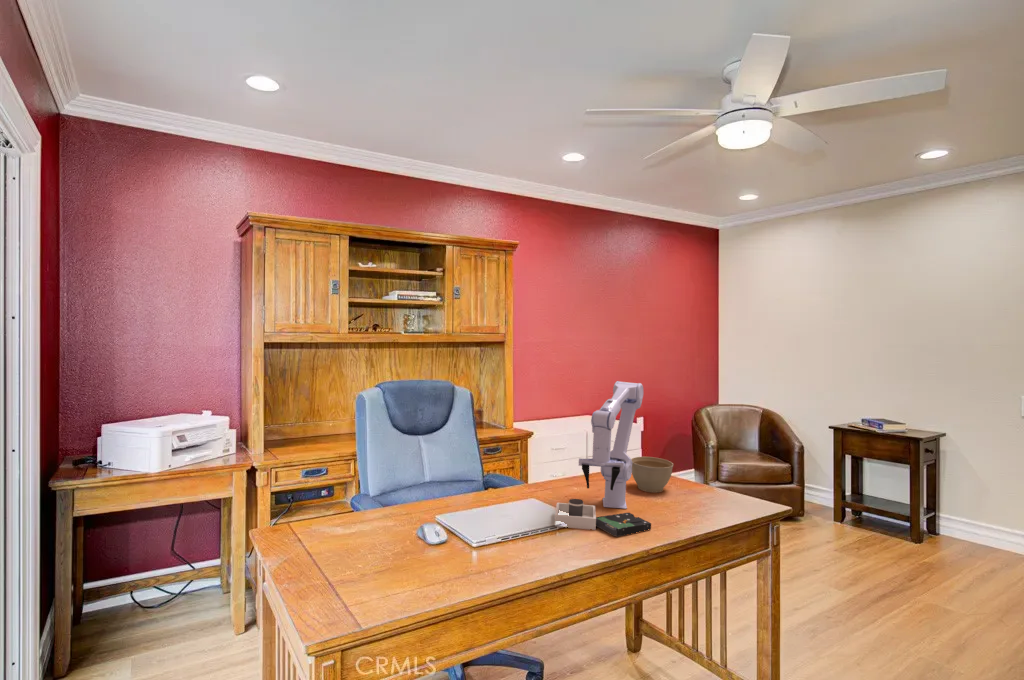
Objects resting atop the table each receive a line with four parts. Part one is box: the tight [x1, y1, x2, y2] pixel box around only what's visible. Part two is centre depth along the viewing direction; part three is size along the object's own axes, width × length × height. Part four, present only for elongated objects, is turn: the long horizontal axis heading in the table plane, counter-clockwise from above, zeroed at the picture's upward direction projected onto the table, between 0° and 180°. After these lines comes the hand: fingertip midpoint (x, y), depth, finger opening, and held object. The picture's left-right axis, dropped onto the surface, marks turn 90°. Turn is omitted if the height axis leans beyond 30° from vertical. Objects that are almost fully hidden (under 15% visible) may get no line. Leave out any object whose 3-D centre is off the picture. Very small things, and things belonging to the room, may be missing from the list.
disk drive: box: [596, 512, 652, 537], centre depth 176 cm, size 10×3×15 cm
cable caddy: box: [554, 502, 597, 531], centre depth 180 cm, size 13×13×4 cm
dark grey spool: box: [568, 498, 585, 517], centre depth 180 cm, size 5×5×6 cm
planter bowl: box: [631, 456, 674, 494], centre depth 219 cm, size 16×16×11 cm
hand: (599, 488), depth 185 cm, fingers open, 7 cm apart
